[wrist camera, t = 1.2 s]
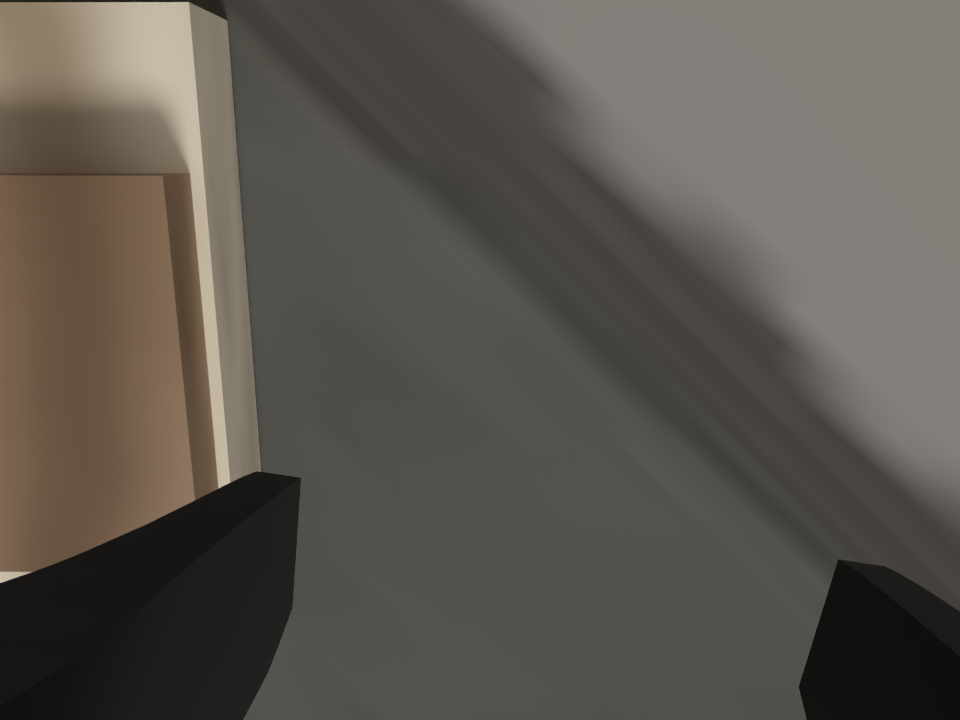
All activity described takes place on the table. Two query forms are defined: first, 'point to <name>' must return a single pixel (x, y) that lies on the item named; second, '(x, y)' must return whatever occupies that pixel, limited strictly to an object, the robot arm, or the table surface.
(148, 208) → the tile
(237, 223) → the beige flat block
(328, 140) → the table surface
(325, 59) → the table surface
